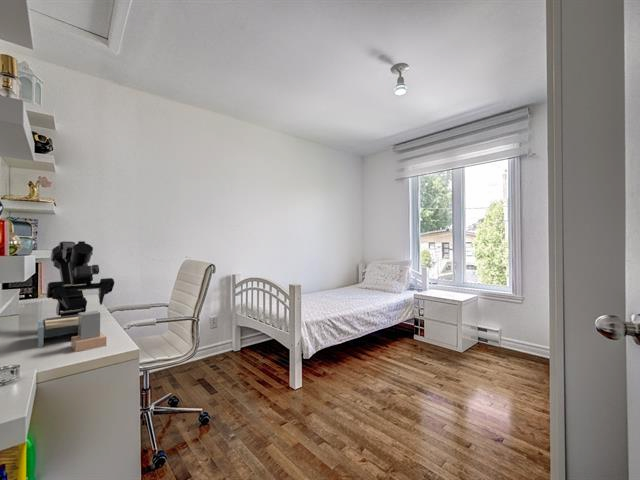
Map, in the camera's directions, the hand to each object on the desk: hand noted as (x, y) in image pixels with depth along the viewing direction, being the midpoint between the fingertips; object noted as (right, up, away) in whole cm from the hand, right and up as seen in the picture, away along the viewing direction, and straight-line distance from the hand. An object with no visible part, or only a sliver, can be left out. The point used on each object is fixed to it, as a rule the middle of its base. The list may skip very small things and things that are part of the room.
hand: (85, 306), depth 103 cm
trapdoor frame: (-10, -12, +4) cm, 17 cm away
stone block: (+5, -12, -5) cm, 14 cm away
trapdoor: (-10, -7, +4) cm, 13 cm away
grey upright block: (+5, -9, -4) cm, 11 cm away
